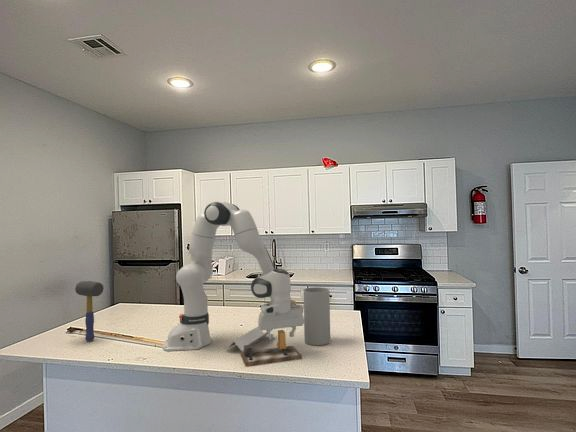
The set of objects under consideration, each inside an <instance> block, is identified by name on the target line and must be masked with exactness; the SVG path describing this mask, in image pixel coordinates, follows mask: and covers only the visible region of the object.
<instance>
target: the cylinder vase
mask: <svg viewBox="0 0 576 432" xmlns="http://www.w3.org/2000/svg"><path fill="white" fill-rule="evenodd" d="M330 300H331V299H330V289H329V288H327V287H318V286H317V287H316V286H315V287H314V286H313V287H307V288H303V319H304V324H303V328H304V329H303V334H304V335H303V336H304V337H303V338H304V342H305V343H306V344H308V345H310V346H314V347H315V346H316V347H319V346H320V347H321V346H326V345H328V344H329V343H331V309H330V308H331V301H330Z"/></svg>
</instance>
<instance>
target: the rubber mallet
mask: <svg viewBox="0 0 576 432" xmlns="http://www.w3.org/2000/svg"><path fill="white" fill-rule="evenodd" d="M74 290H75V293H76V294H77V295H80V296H83V297H86V313H85V321H84V323H85V329H86V331H85V341H86V342H87V343H89V342H90V343H91V342H92V341H94V339H95V332H94V326H95V325H94V324H95V315H94V311H93V297H99V296H100V295H102V294H103V292H104V285H103V283H102V282H98V281H92V280H88V281H87V280H86V281H85V280H82V281H79V282H78V283H77V284H76V285H75V289H74Z"/></svg>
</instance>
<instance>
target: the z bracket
mask: <svg viewBox="0 0 576 432" xmlns="http://www.w3.org/2000/svg"><path fill="white" fill-rule="evenodd" d="M273 330H274V329H271V332H272V331H273ZM267 336H269V334H268V332H267V331H266V332H265V333H264V330H261V329H260V328H259V326H256V327H255V328H253V329H251V330H249V331H248V332H246V333H244V334H242V335H241V336H239V337H237V338H235V339H233V341H232V342H231V343H229V345H228V346H227V347H226V348H224V349H225V350H228V349H229V348H231V347H233V346H235V345H236V347H238V349H239V350H240V352H244V345H251V346H253V345H255V344H256V343H258V342H260V341H261V340H262V339H264V338H266V337H267Z"/></svg>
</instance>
